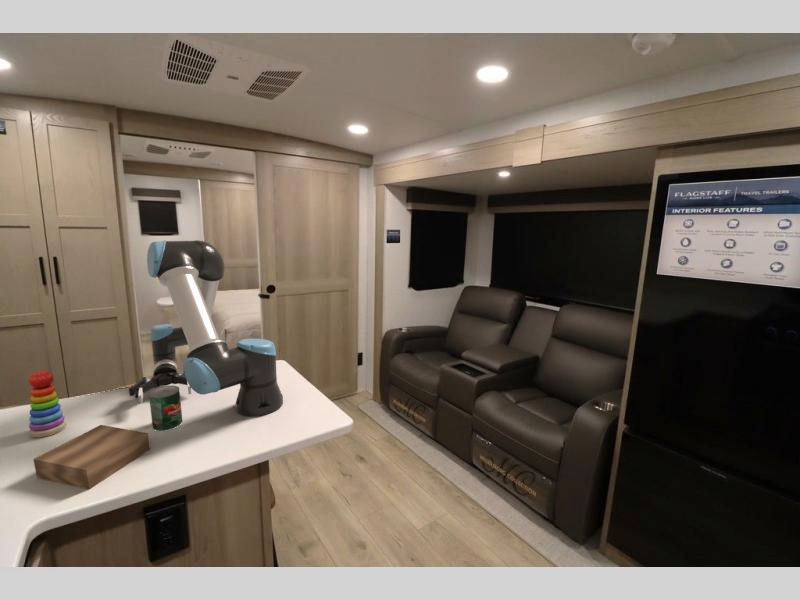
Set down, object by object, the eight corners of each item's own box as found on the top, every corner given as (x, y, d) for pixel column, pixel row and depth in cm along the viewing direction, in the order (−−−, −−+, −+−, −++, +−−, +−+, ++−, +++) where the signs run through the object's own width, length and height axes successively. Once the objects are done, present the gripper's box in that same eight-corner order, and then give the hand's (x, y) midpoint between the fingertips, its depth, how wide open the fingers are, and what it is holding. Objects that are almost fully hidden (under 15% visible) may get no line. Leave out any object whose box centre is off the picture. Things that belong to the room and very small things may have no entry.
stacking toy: (32, 442, 102) (20, 379, 99) (27, 432, 107) (15, 371, 103) (69, 430, 109) (59, 370, 105) (63, 421, 113) (53, 364, 110)
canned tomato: (178, 429, 110) (175, 395, 108) (148, 432, 108) (144, 398, 106) (185, 416, 118) (182, 384, 116) (157, 419, 116) (153, 386, 113)
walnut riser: (150, 449, 100) (148, 432, 99) (89, 489, 85) (86, 470, 84) (103, 440, 104) (100, 424, 103) (36, 477, 88) (33, 459, 87)
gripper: (203, 375, 144) (209, 396, 127) (125, 389, 131) (119, 414, 114) (202, 357, 143) (207, 376, 125) (122, 369, 130) (116, 392, 112)
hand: (165, 394), depth 119 cm, fingers open, 13 cm apart
